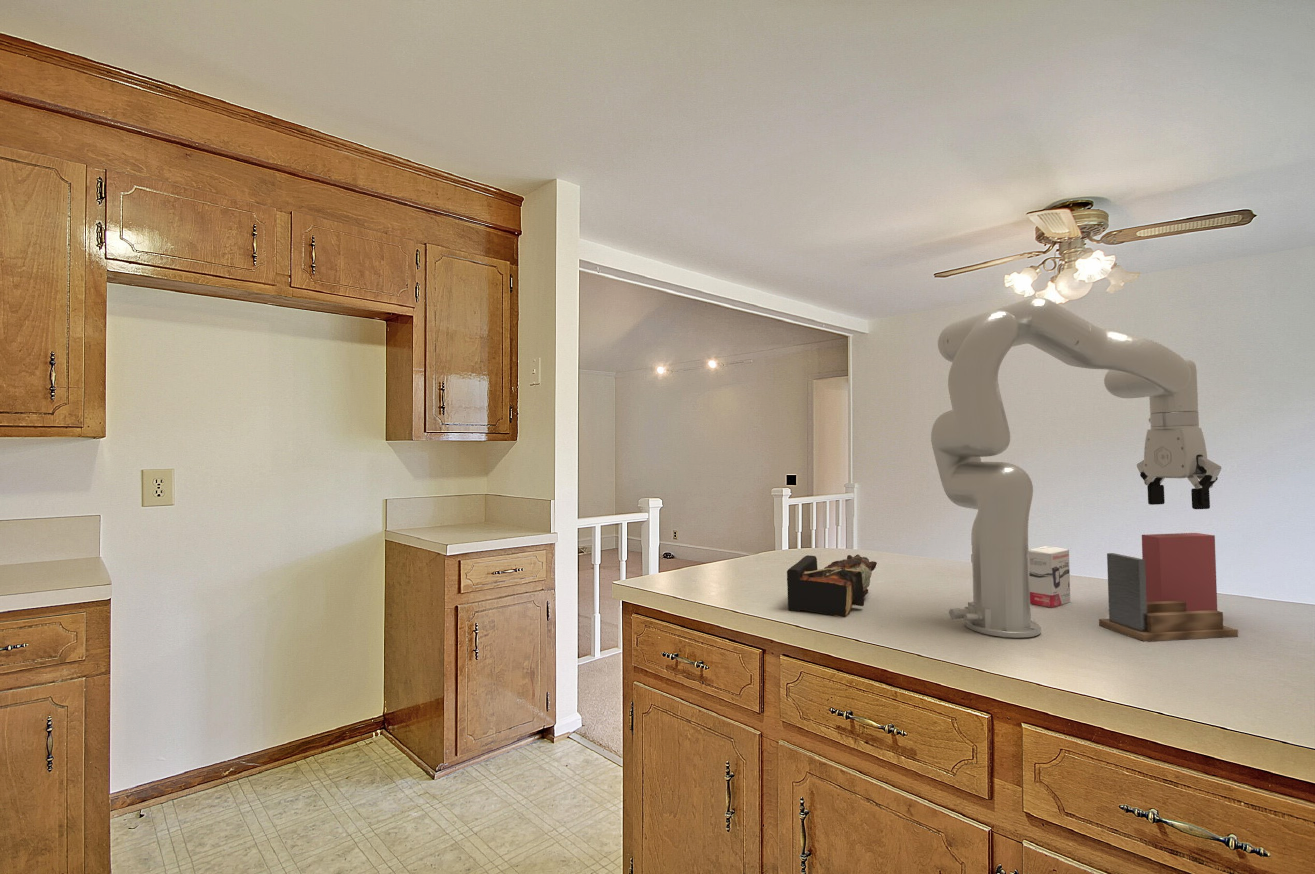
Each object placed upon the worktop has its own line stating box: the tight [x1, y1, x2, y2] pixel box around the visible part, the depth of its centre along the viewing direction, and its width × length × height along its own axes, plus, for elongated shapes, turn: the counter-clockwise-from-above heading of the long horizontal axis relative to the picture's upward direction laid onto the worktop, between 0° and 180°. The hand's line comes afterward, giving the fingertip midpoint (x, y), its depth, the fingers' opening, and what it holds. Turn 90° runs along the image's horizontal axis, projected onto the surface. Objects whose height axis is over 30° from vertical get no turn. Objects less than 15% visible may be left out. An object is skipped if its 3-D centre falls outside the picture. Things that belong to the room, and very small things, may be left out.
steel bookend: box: [1106, 552, 1147, 632], centre depth 115 cm, size 1×7×14 cm, turn 5°
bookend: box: [786, 553, 878, 618], centre depth 142 cm, size 15×11×25 cm
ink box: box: [1029, 545, 1071, 609], centre depth 137 cm, size 8×5×12 cm, turn 123°
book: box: [1141, 532, 1218, 611], centre depth 125 cm, size 12×4×16 cm, turn 95°
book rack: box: [1098, 601, 1239, 642], centre depth 115 cm, size 18×10×4 cm, turn 95°
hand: (1177, 506), depth 126 cm, fingers open, 9 cm apart
